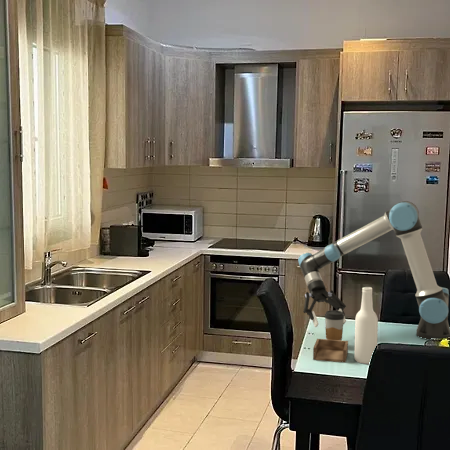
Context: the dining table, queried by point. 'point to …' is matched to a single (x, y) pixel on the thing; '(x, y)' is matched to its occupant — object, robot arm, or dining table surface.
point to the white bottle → (365, 328)
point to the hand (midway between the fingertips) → (330, 324)
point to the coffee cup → (334, 325)
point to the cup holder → (330, 350)
